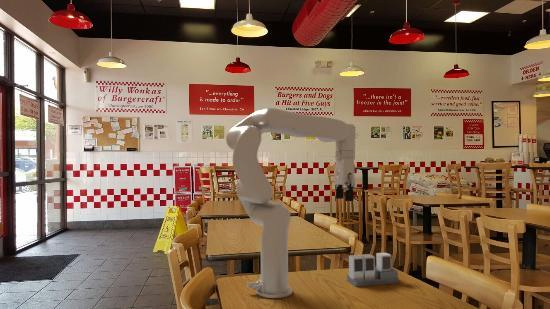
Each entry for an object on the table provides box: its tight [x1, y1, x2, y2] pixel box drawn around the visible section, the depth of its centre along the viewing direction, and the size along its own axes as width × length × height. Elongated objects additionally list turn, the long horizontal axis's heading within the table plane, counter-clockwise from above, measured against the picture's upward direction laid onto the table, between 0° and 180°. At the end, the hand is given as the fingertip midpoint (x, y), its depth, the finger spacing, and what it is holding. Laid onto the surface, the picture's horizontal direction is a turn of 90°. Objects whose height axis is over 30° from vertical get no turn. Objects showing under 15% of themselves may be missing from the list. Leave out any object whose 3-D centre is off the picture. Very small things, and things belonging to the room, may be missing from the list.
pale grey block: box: [375, 252, 392, 272], centre depth 154 cm, size 4×4×8 cm
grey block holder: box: [346, 253, 400, 288], centre depth 153 cm, size 17×8×10 cm, turn 104°
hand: (344, 199), depth 157 cm, fingers open, 9 cm apart
